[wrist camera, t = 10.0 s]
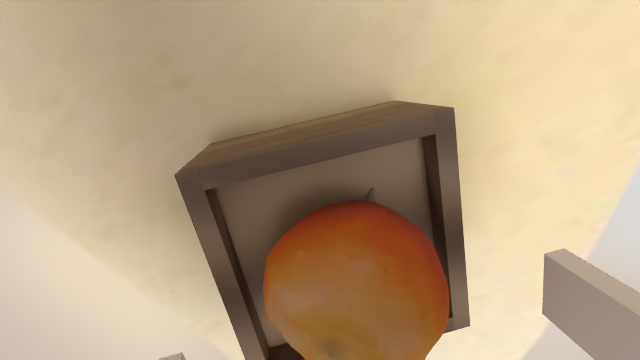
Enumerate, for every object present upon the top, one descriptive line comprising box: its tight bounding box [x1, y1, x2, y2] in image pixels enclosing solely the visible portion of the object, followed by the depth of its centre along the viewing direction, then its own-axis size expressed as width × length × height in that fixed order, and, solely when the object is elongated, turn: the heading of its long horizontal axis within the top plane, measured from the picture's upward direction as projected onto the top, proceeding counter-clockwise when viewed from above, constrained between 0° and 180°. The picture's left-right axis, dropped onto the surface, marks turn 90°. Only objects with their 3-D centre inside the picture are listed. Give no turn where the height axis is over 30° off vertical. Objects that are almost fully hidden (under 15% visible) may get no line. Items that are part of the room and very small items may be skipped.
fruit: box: [263, 187, 449, 360], centre depth 15 cm, size 8×8×8 cm
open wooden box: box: [175, 101, 470, 360], centre depth 19 cm, size 13×13×8 cm
